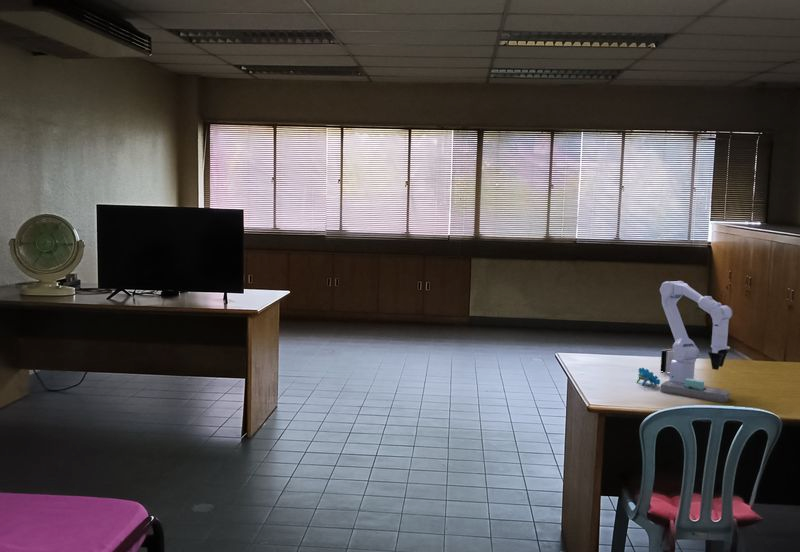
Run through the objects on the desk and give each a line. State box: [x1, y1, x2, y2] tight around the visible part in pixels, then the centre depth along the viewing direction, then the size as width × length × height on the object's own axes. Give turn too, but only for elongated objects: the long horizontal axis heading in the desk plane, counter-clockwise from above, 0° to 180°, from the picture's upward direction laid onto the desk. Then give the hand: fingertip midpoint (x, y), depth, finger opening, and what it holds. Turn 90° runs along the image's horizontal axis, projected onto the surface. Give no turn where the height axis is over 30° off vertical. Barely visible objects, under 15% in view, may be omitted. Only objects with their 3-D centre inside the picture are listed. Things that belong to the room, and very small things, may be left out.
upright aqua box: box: [684, 378, 705, 390], centre depth 273 cm, size 6×3×6 cm, turn 53°
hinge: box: [660, 348, 676, 373], centre depth 315 cm, size 14×5×10 cm, turn 135°
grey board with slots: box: [660, 380, 731, 404], centre depth 273 cm, size 24×8×3 cm, turn 54°
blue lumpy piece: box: [636, 367, 661, 386], centre depth 287 cm, size 11×6×10 cm
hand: (717, 367), depth 281 cm, fingers open, 7 cm apart
